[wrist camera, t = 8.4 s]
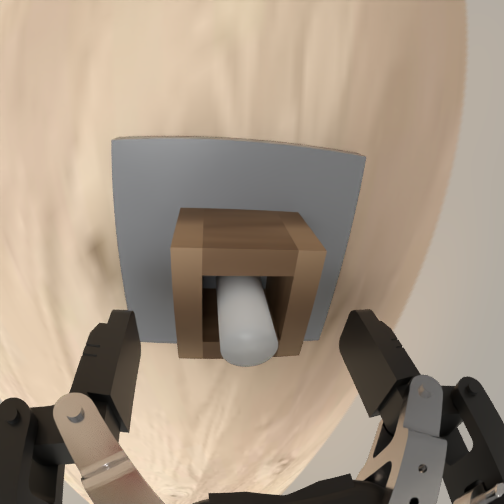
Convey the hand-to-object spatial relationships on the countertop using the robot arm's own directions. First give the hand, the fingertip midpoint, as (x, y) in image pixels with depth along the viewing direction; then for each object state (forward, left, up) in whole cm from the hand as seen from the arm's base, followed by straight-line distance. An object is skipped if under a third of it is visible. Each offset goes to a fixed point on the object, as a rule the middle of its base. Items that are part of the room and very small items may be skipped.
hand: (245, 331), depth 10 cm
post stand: (0, 0, -6) cm, 6 cm away
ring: (0, 0, -5) cm, 5 cm away
